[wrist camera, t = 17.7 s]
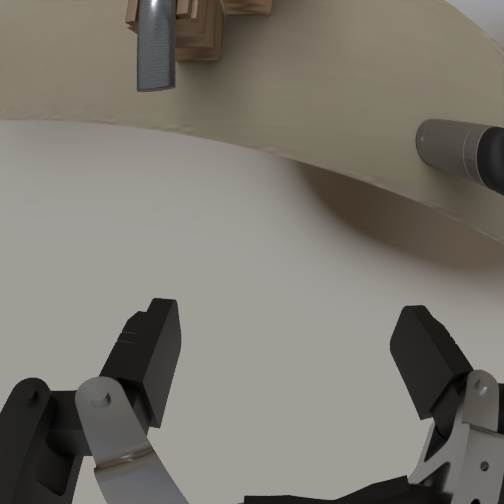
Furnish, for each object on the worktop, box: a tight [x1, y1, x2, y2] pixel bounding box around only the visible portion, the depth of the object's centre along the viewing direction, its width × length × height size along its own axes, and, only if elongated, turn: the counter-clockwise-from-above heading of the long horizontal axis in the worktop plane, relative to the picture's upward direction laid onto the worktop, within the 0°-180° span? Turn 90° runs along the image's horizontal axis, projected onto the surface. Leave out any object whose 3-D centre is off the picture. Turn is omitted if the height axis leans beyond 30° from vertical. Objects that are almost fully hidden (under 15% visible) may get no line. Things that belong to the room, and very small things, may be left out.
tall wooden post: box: [125, 0, 224, 62], centre depth 26 cm, size 7×9×22 cm
